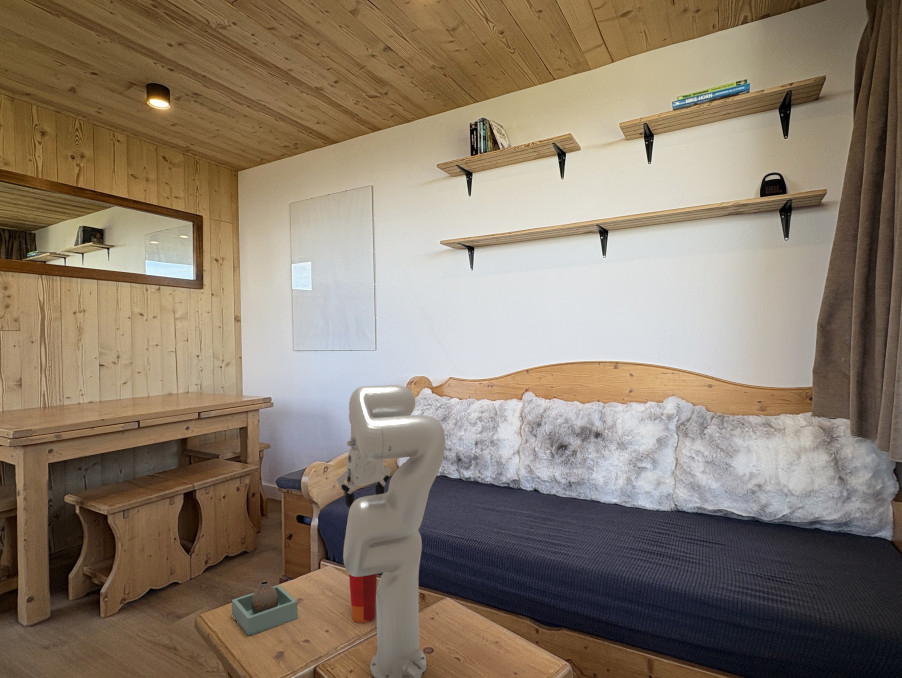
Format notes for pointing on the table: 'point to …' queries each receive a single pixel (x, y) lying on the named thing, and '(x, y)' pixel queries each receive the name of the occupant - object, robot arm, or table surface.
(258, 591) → the vase
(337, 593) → the table surface
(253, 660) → the table surface
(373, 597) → the coffee cup
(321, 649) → the table surface
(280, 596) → the bin
